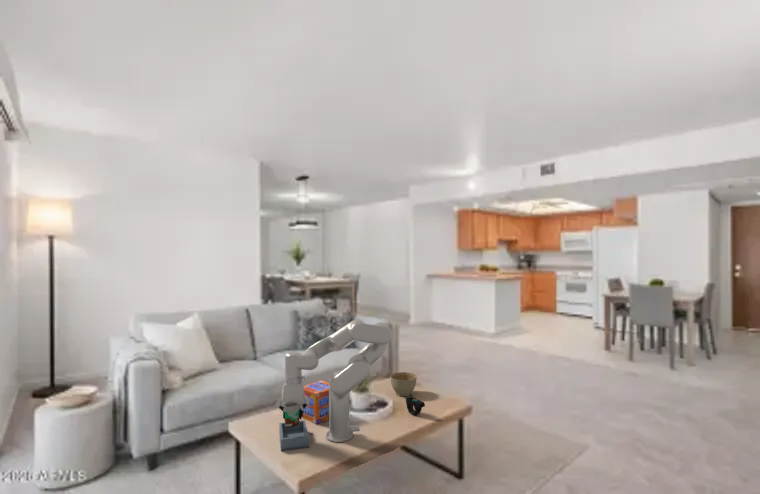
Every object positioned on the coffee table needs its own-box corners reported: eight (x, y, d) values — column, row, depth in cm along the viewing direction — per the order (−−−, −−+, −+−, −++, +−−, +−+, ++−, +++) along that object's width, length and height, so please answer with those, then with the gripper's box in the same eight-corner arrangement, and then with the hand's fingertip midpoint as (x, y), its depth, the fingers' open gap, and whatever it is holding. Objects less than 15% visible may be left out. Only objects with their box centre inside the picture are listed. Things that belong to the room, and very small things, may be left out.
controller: (410, 410, 226) (410, 392, 226) (426, 417, 216) (426, 398, 216) (404, 412, 223) (404, 393, 223) (420, 419, 214) (420, 400, 214)
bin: (304, 430, 201) (304, 420, 201) (308, 447, 184) (308, 436, 184) (279, 433, 198) (279, 423, 198) (280, 451, 181) (280, 439, 181)
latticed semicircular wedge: (297, 429, 185) (297, 407, 185) (284, 429, 186) (284, 407, 186) (304, 418, 197) (304, 397, 197) (292, 418, 198) (292, 397, 198)
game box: (340, 415, 219) (340, 386, 219) (316, 424, 208) (315, 393, 208) (322, 408, 230) (322, 379, 230) (298, 416, 219) (298, 386, 219)
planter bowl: (384, 394, 251) (384, 376, 251) (400, 387, 263) (400, 370, 263) (406, 400, 240) (406, 382, 241) (422, 393, 253) (421, 375, 253)
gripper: (311, 376, 197) (311, 414, 197) (273, 378, 192) (273, 417, 192) (313, 380, 190) (312, 420, 190) (274, 383, 185) (273, 424, 185)
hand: (292, 418), depth 191 cm, fingers closed on latticed semicircular wedge, 6 cm apart
